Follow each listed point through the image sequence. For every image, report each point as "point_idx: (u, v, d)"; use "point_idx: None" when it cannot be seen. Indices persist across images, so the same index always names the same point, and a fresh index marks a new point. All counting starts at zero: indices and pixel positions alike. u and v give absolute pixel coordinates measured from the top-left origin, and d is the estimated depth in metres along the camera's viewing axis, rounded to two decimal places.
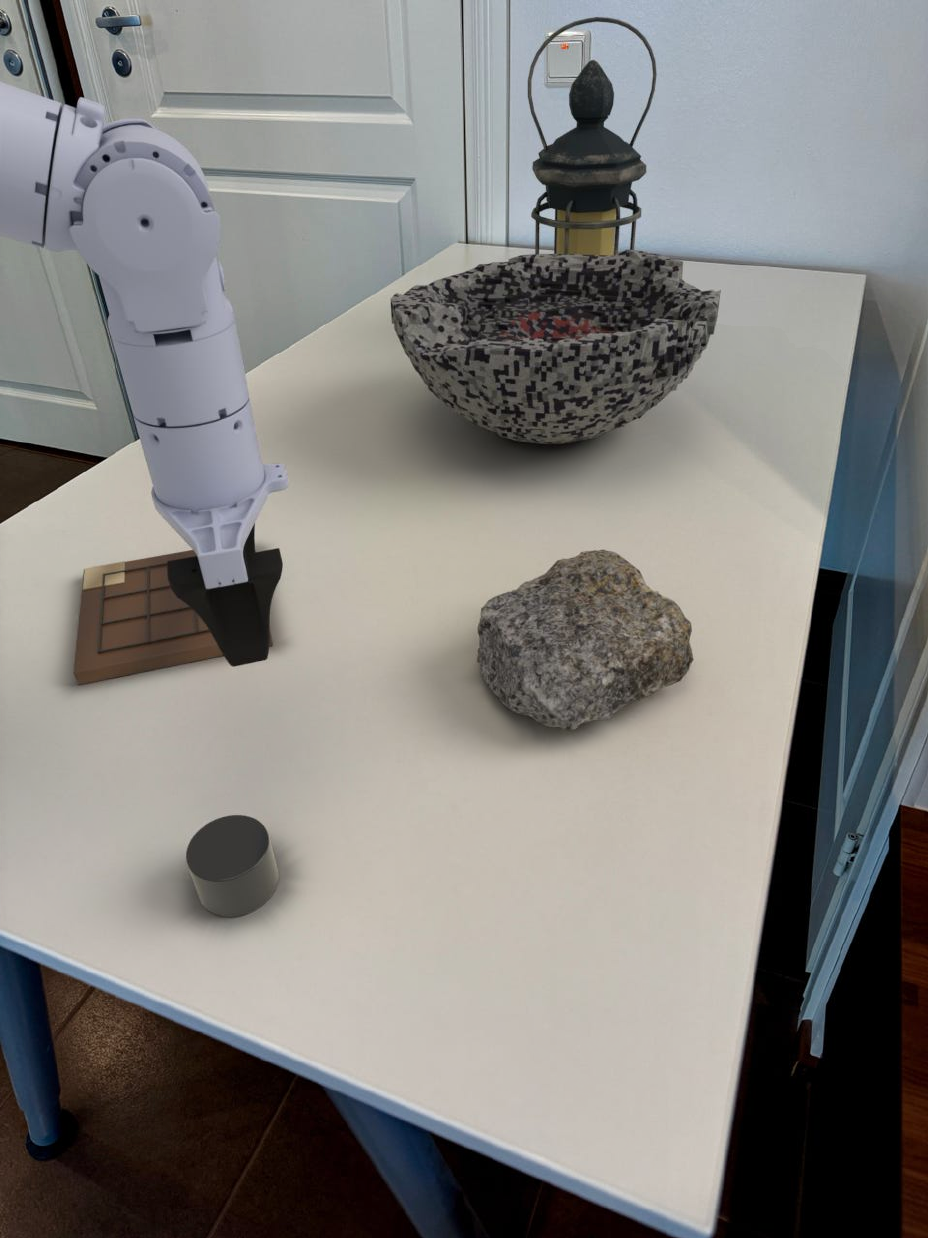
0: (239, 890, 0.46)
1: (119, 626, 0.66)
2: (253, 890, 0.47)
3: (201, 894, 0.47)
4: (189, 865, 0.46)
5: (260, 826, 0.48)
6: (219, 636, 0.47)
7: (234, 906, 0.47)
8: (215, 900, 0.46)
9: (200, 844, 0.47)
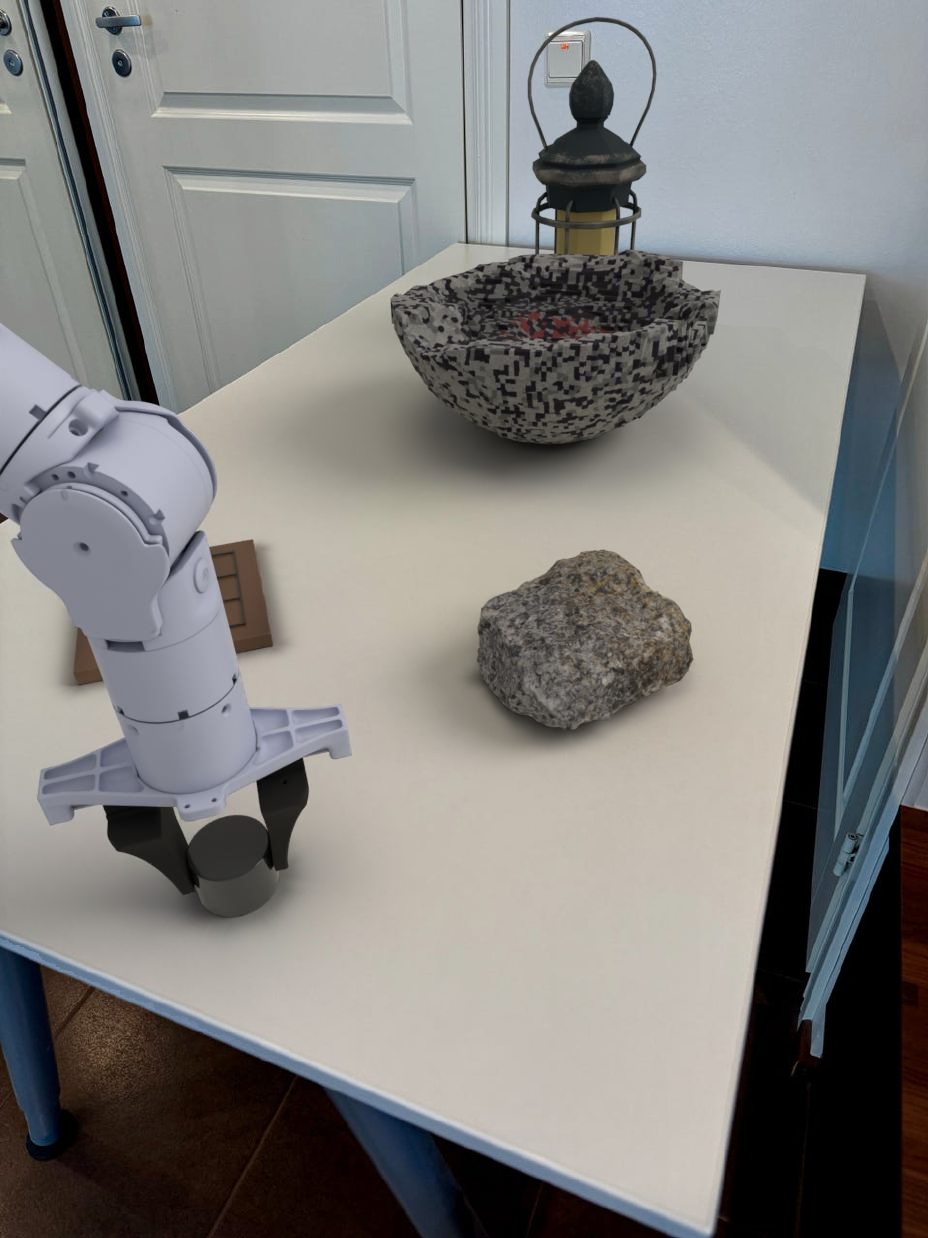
0: (239, 890, 0.46)
1: None
2: (253, 890, 0.47)
3: (201, 894, 0.47)
4: (189, 865, 0.46)
5: (260, 826, 0.48)
6: None
7: (235, 906, 0.47)
8: (215, 900, 0.46)
9: (200, 844, 0.47)
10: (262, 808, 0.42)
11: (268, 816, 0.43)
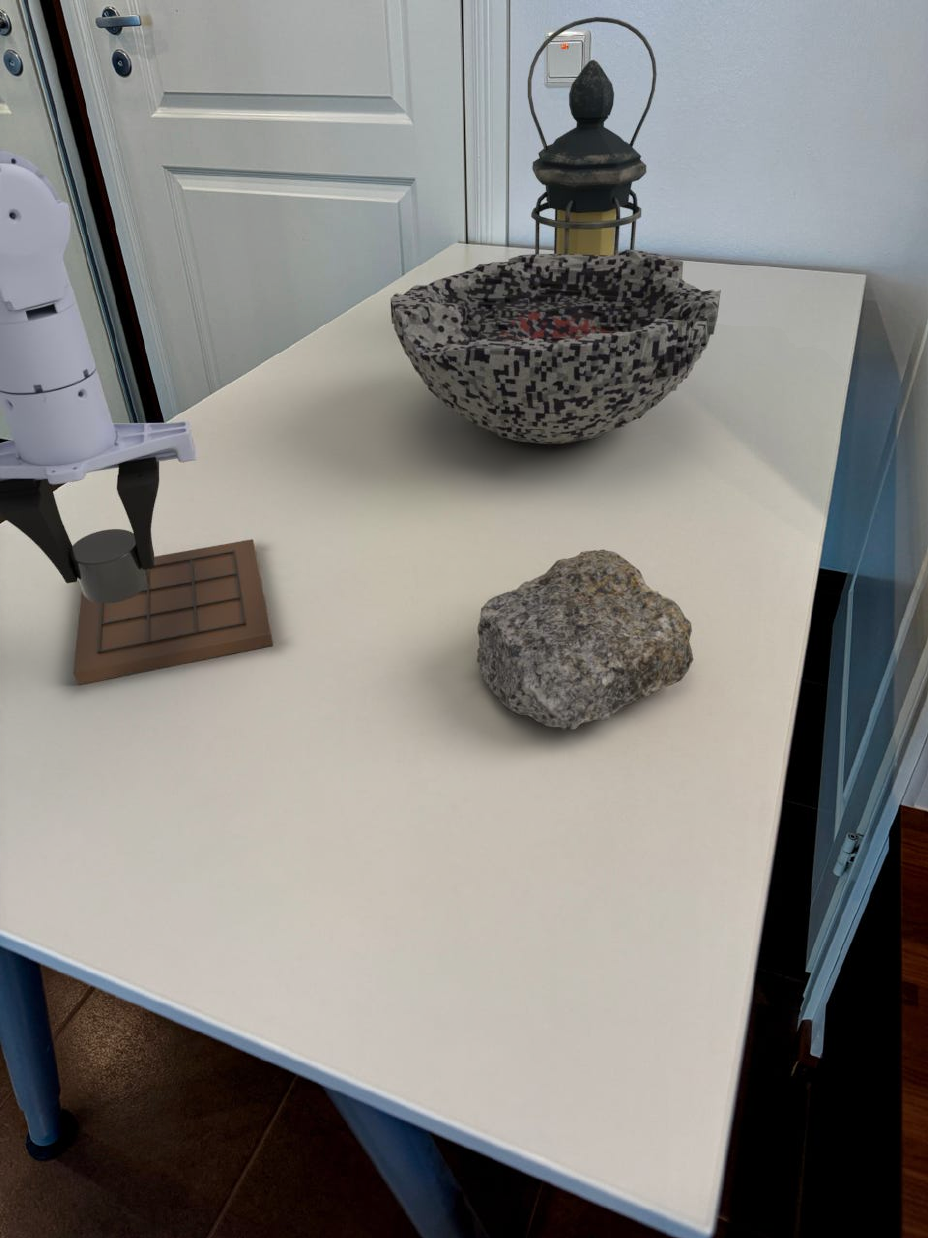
0: (110, 575, 0.57)
1: (119, 626, 0.66)
2: (122, 579, 0.58)
3: (82, 583, 0.58)
4: (71, 556, 0.58)
5: (132, 534, 0.59)
6: None
7: (108, 592, 0.58)
8: (92, 586, 0.58)
9: (82, 544, 0.59)
10: (118, 489, 0.54)
11: (126, 500, 0.55)
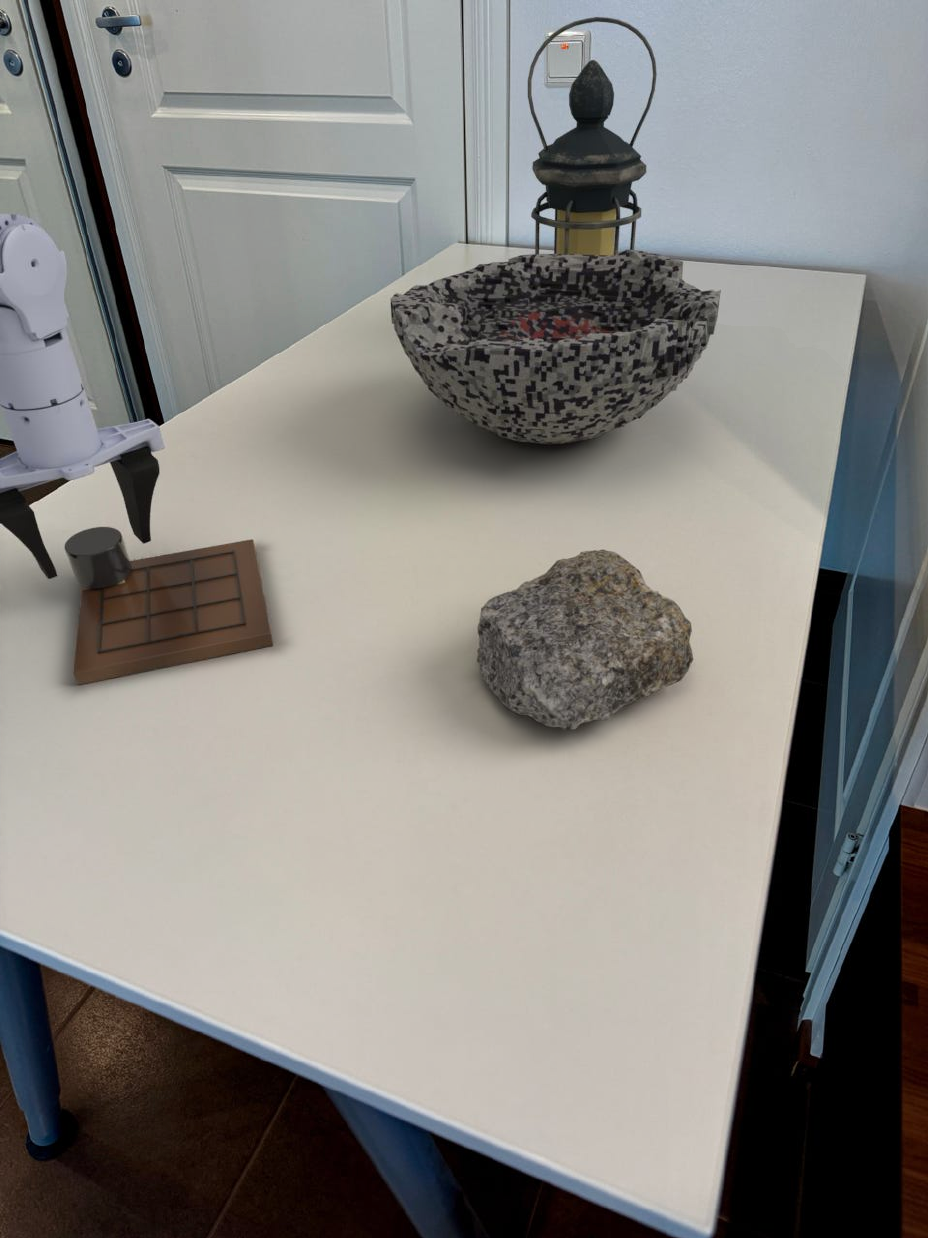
0: (109, 561, 0.69)
1: (119, 626, 0.66)
2: (118, 563, 0.70)
3: (82, 574, 0.69)
4: (70, 553, 0.69)
5: (111, 528, 0.71)
6: None
7: (108, 576, 0.70)
8: (94, 574, 0.69)
9: (73, 543, 0.70)
10: (132, 473, 0.67)
11: (136, 482, 0.67)
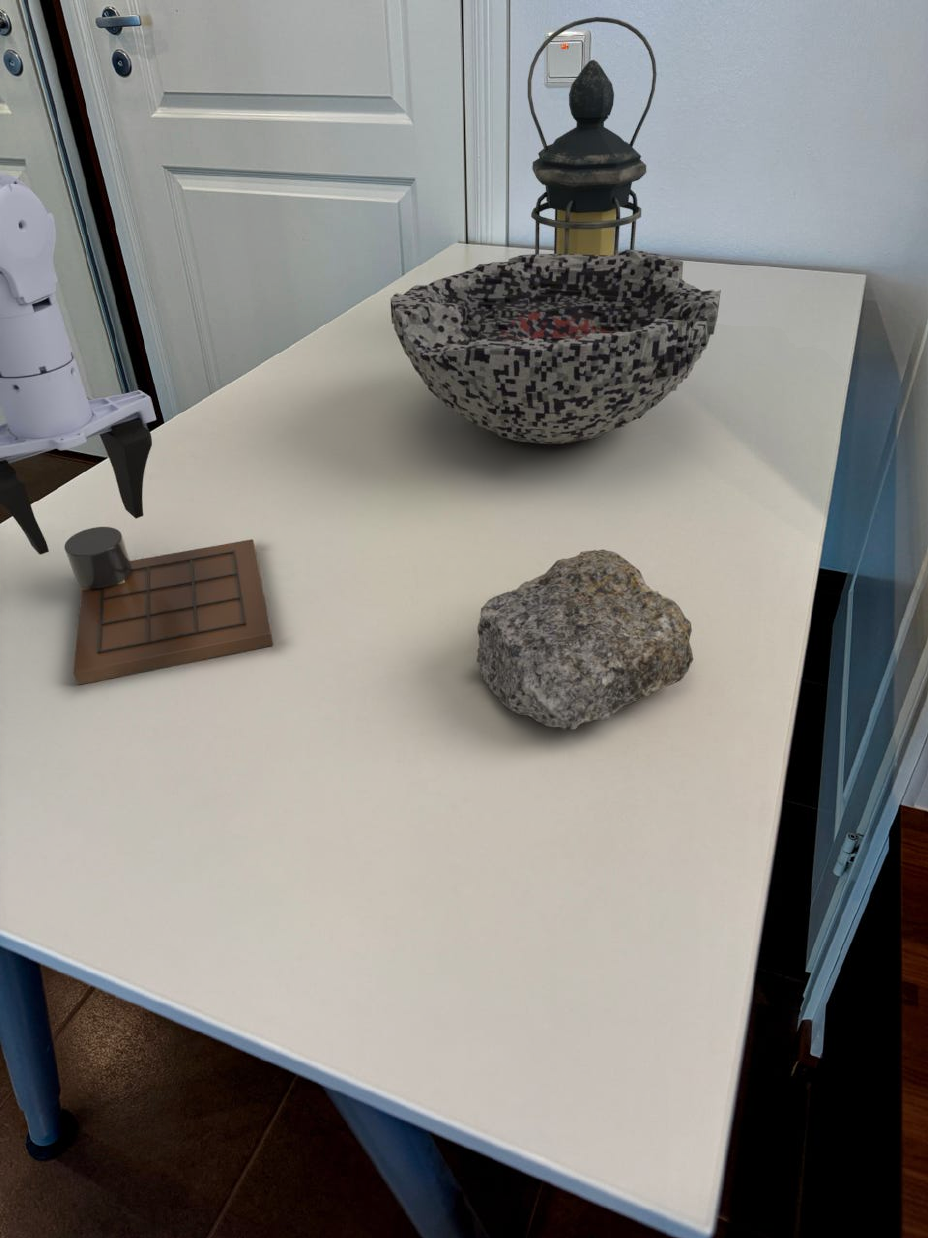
0: (109, 561, 0.69)
1: (119, 626, 0.66)
2: (118, 563, 0.70)
3: (82, 574, 0.69)
4: (70, 553, 0.69)
5: (111, 528, 0.71)
6: (14, 517, 0.66)
7: (108, 576, 0.70)
8: (94, 574, 0.69)
9: (73, 543, 0.70)
10: (125, 444, 0.65)
11: (128, 454, 0.66)
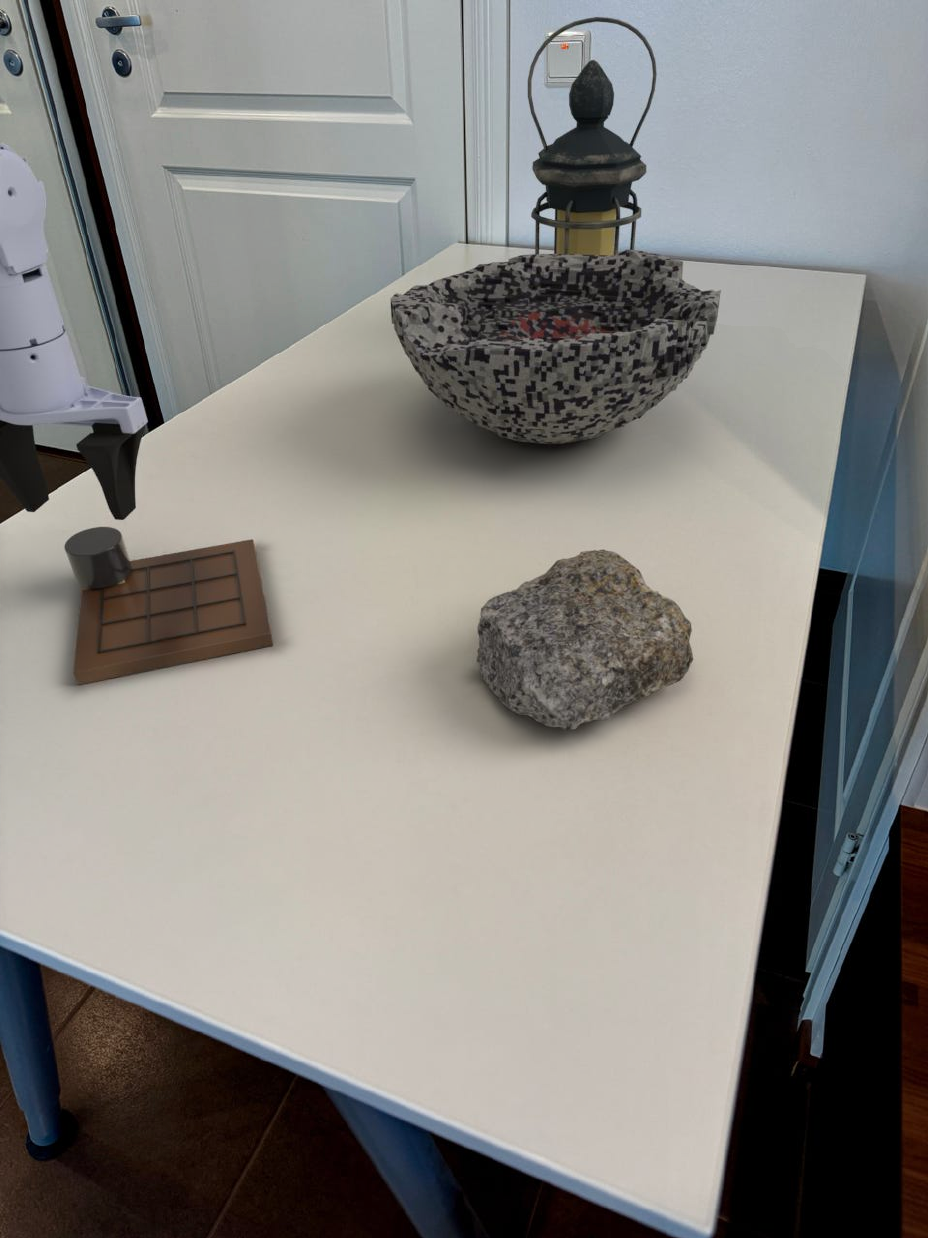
0: (109, 561, 0.69)
1: (119, 626, 0.66)
2: (118, 563, 0.70)
3: (82, 574, 0.69)
4: (70, 553, 0.69)
5: (111, 528, 0.71)
6: (117, 492, 0.65)
7: (108, 576, 0.70)
8: (94, 574, 0.69)
9: (73, 543, 0.70)
10: None
11: None
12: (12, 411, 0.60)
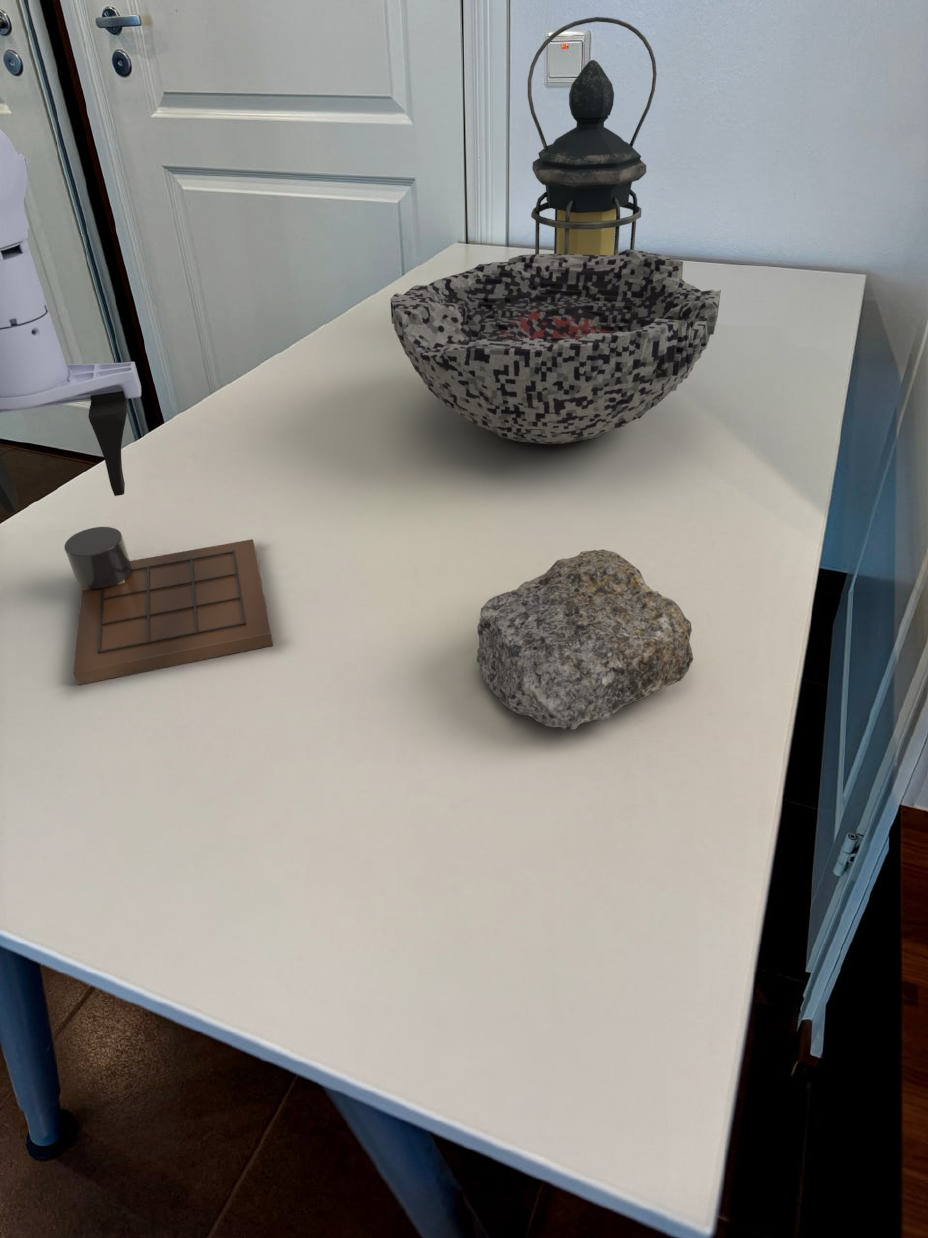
0: (109, 561, 0.69)
1: (119, 626, 0.66)
2: (118, 563, 0.70)
3: (82, 574, 0.69)
4: (70, 553, 0.69)
5: (111, 528, 0.71)
6: (119, 465, 0.65)
7: (108, 576, 0.70)
8: (94, 574, 0.69)
9: (73, 543, 0.70)
10: None
11: None
12: (13, 394, 0.58)
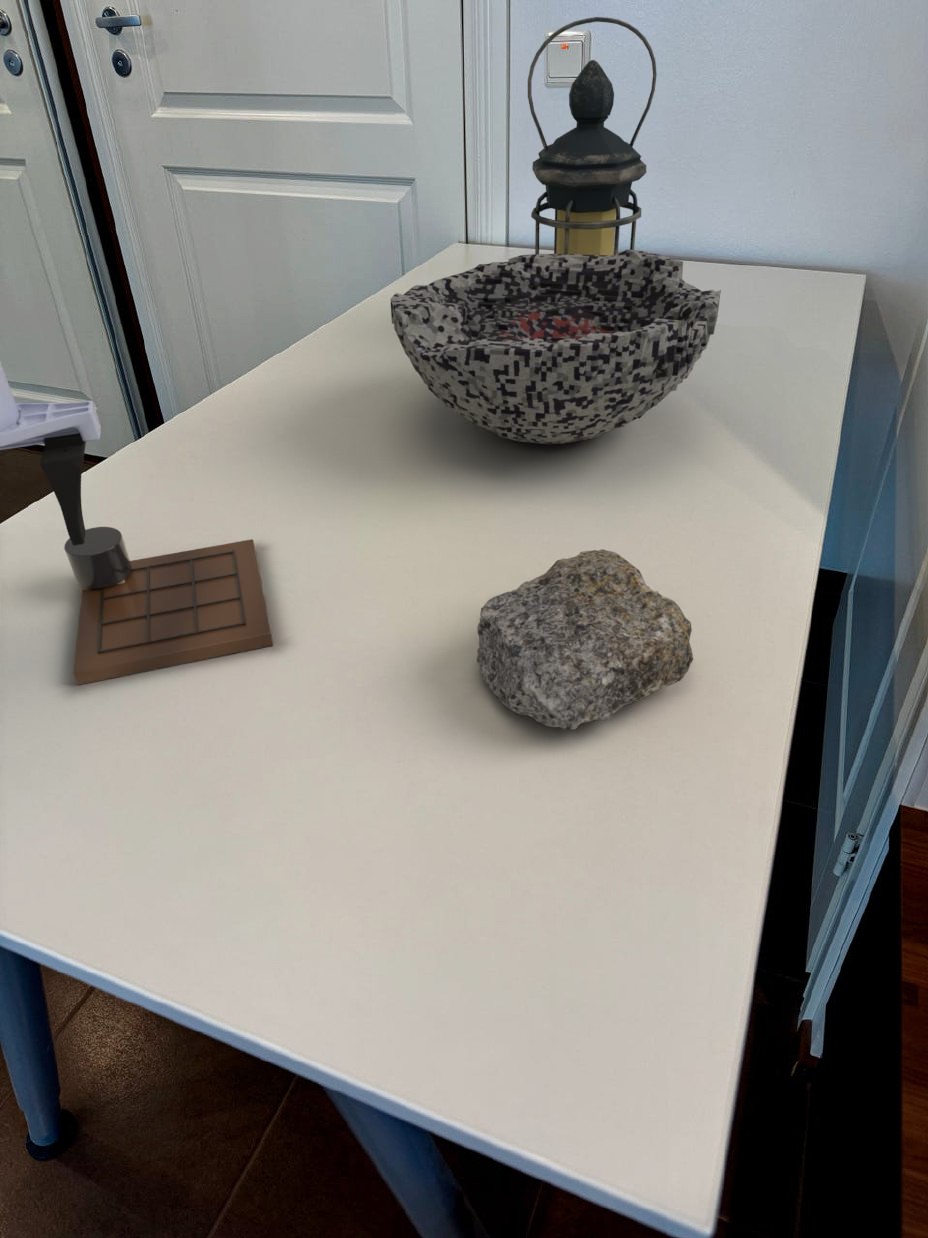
0: (109, 561, 0.69)
1: (119, 626, 0.66)
2: (118, 563, 0.70)
3: (82, 574, 0.69)
4: (70, 553, 0.69)
5: (111, 528, 0.71)
6: (78, 512, 0.59)
7: (108, 576, 0.70)
8: (94, 574, 0.69)
9: None
10: None
11: None
12: None
